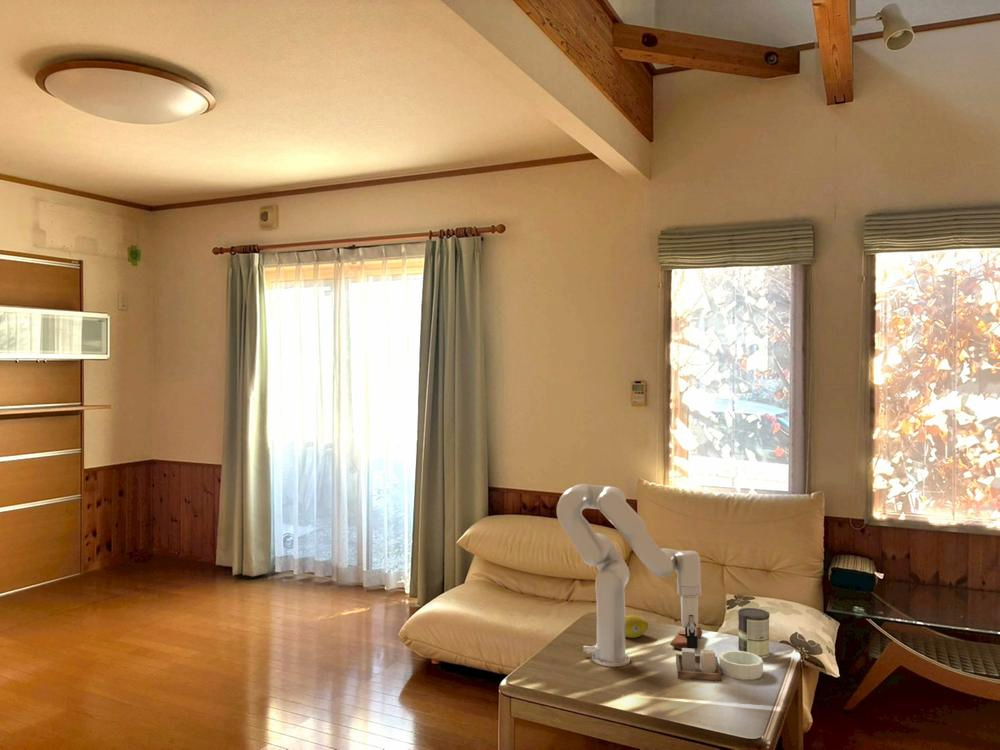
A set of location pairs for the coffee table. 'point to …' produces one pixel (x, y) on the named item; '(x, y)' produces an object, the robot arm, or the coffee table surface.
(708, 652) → the beige brick
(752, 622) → the coffee can
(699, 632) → the sunglasses case
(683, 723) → the coffee table surface
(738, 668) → the celadon bowl
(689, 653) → the light grey block
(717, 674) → the walnut tray
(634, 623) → the lemon
